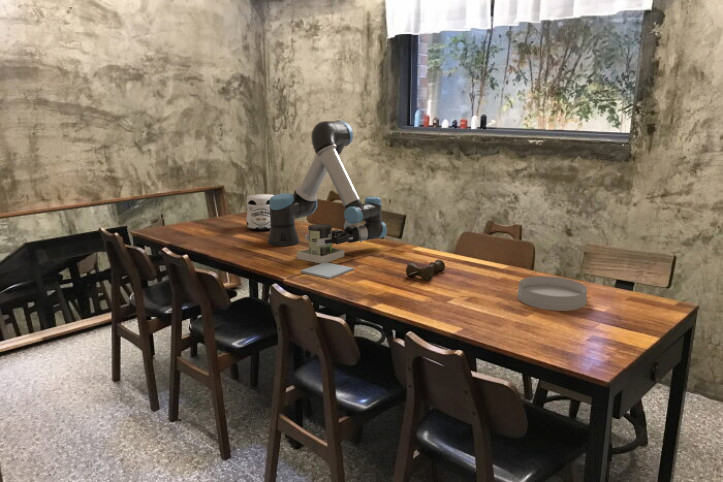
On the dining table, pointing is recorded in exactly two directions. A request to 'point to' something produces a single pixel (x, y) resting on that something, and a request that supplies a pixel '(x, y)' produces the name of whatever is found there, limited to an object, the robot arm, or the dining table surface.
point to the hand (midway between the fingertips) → (311, 240)
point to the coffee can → (318, 233)
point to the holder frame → (320, 259)
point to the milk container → (258, 212)
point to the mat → (327, 270)
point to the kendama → (425, 270)
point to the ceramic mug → (349, 224)
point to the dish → (552, 293)
